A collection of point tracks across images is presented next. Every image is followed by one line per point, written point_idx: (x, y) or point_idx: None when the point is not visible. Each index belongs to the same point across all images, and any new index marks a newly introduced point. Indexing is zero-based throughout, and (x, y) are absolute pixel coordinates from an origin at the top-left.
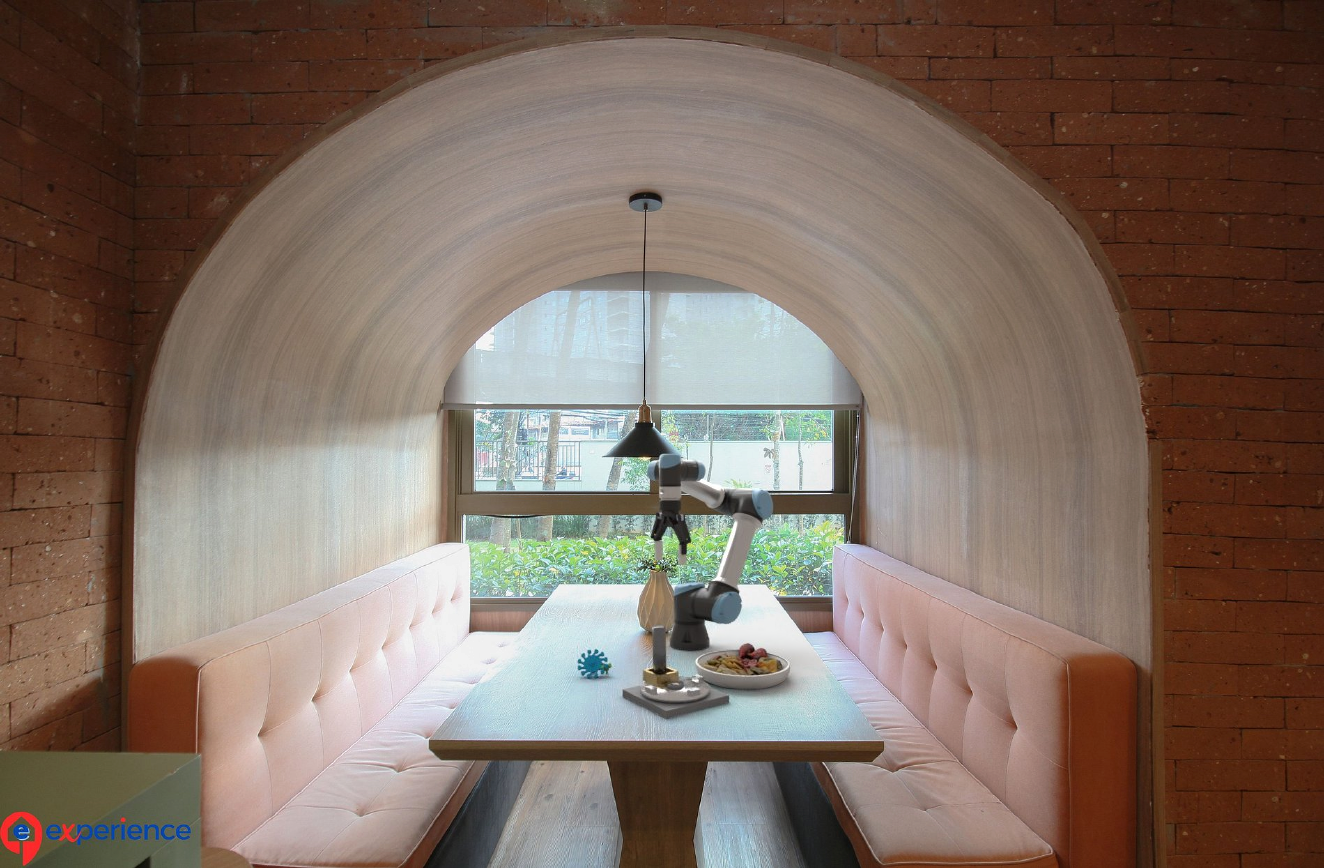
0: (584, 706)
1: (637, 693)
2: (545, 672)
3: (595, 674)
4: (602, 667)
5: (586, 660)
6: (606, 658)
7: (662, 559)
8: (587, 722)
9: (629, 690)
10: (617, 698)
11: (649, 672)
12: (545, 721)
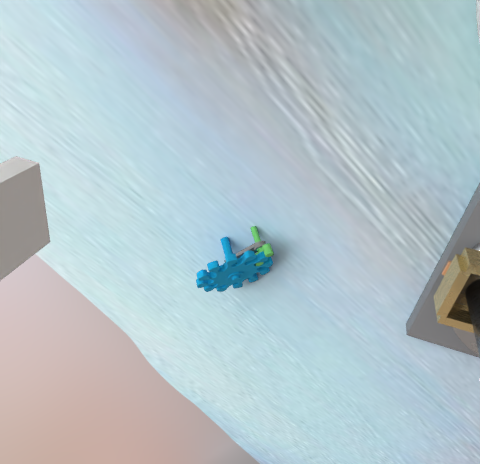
0: (379, 387)
1: (458, 341)
2: (159, 289)
3: (262, 273)
4: (261, 264)
5: (219, 282)
6: (250, 258)
7: (35, 164)
8: (442, 434)
9: (427, 334)
10: (404, 336)
11: (468, 330)
12: (376, 448)
